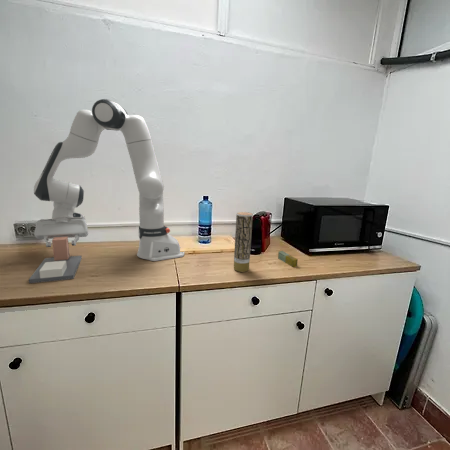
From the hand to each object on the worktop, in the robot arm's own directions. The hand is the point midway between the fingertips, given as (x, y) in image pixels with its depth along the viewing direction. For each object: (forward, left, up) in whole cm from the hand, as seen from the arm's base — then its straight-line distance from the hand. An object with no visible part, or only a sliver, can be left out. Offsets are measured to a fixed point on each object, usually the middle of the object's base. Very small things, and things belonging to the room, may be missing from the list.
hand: (61, 245), depth 113 cm
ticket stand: (0, +8, -7) cm, 11 cm away
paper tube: (-73, +27, -8) cm, 78 cm away
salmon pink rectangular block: (0, 0, -6) cm, 6 cm away
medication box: (-98, +25, -8) cm, 102 cm away
